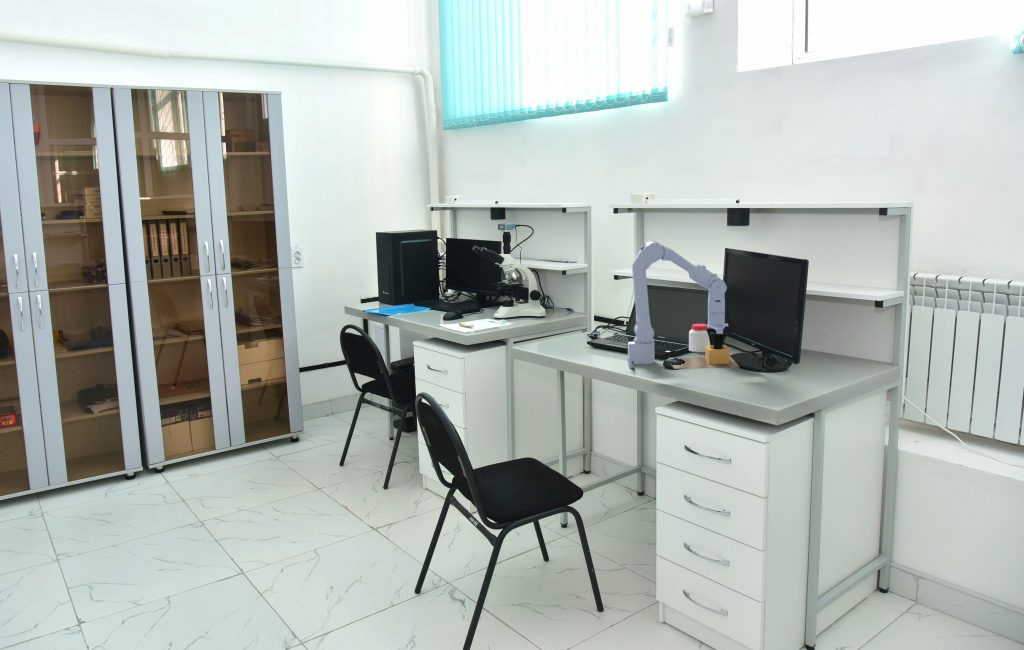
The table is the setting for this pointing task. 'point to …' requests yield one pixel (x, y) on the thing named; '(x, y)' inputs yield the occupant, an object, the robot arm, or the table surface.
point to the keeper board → (702, 363)
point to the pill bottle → (698, 338)
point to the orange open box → (717, 355)
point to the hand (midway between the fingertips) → (715, 350)
